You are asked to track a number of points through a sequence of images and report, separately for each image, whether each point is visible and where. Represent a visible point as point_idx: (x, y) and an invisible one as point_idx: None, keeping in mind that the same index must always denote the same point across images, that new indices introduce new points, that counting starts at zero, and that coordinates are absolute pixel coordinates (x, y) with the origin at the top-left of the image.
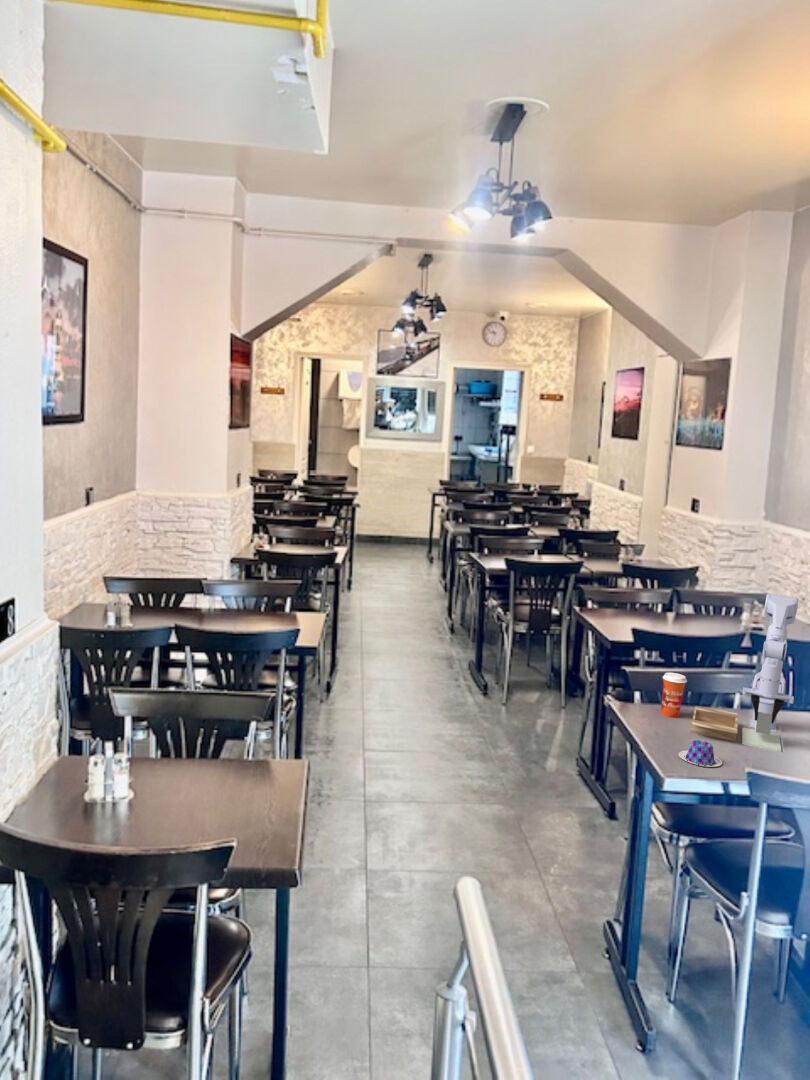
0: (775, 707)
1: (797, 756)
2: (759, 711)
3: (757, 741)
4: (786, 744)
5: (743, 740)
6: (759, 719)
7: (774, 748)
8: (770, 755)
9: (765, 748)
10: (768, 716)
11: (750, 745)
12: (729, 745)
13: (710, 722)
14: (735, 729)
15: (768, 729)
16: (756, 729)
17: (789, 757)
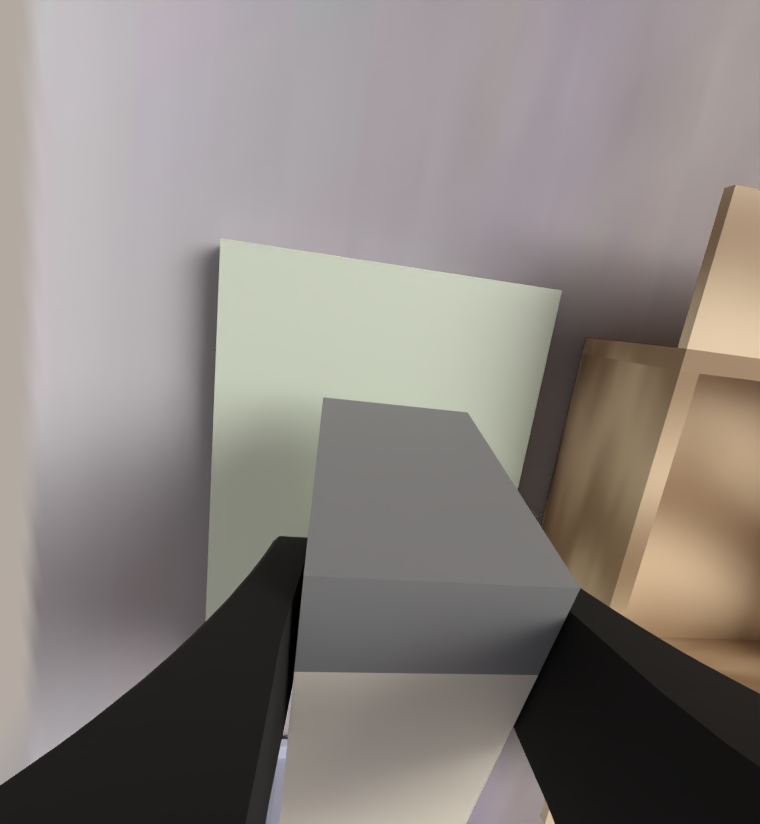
0: (199, 812)
1: (71, 236)
2: None
3: (416, 395)
4: (158, 529)
5: (538, 355)
6: (499, 502)
7: (282, 264)
8: (333, 129)
9: (364, 262)
10: (378, 554)
11: (489, 282)
12: (652, 242)
13: (695, 649)
14: (716, 312)
15: (343, 428)
16: (473, 427)
17: (151, 160)
